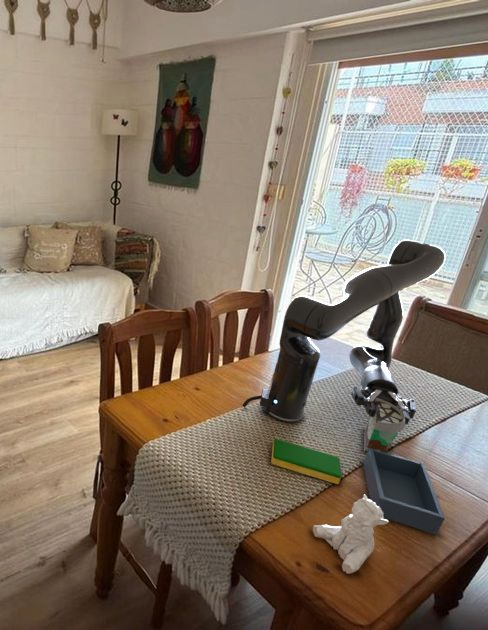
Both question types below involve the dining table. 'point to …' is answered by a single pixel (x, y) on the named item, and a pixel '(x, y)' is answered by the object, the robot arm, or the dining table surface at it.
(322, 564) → the dining table surface
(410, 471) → the blue open tray
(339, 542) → the seated beast figurine
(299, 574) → the dining table surface
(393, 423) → the food container
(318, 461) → the dish sponge
